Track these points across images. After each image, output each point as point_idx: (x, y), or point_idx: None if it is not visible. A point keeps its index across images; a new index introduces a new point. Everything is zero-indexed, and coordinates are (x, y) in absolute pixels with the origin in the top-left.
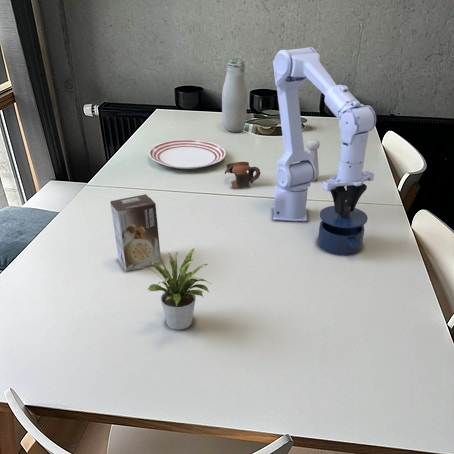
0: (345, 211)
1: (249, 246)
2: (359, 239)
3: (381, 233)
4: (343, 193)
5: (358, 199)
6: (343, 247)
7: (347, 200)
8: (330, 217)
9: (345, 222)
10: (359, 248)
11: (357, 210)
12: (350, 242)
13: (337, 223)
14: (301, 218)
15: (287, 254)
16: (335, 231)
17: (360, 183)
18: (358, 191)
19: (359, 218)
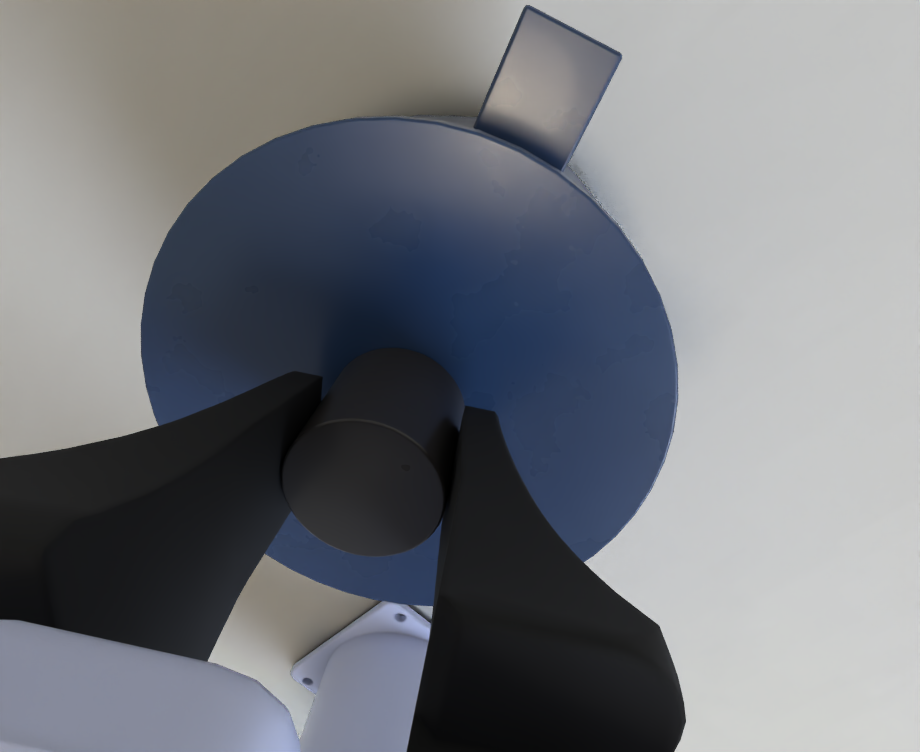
0: (427, 406)
1: (911, 630)
2: None
3: (56, 191)
4: (656, 663)
5: (173, 425)
6: (572, 176)
7: (269, 529)
8: (551, 468)
9: (522, 290)
10: None
11: (179, 384)
12: (597, 96)
13: (619, 335)
14: (401, 629)
15: (848, 435)
16: None
17: (28, 728)
18: (129, 523)
19: (299, 247)
